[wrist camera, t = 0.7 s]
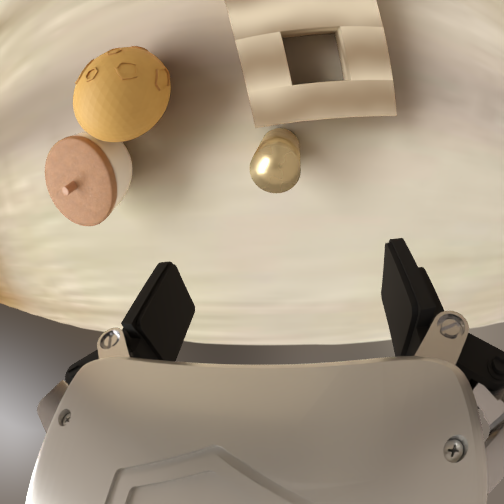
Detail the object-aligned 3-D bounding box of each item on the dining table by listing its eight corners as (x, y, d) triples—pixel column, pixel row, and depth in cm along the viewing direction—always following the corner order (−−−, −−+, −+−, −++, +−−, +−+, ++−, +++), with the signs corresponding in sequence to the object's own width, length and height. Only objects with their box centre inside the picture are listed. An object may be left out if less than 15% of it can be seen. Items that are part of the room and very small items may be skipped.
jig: (220, -39, 15) (199, -64, 10) (345, -53, 12) (356, -80, 7) (260, 121, 26) (250, 134, 21) (384, 110, 23) (408, 121, 18)
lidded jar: (139, 208, 35) (101, 248, 27) (79, 183, 33) (37, 215, 26) (155, 133, 28) (109, 158, 21) (87, 113, 27) (35, 133, 20)
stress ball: (163, 134, 29) (200, 109, 21) (85, 164, 25) (89, 145, 17) (142, 64, 25) (172, 20, 17) (64, 87, 21) (66, 42, 13)
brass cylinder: (258, 131, 27) (245, 150, 21) (296, 125, 26) (296, 142, 20) (265, 166, 29) (255, 195, 23) (302, 161, 28) (303, 190, 22)
